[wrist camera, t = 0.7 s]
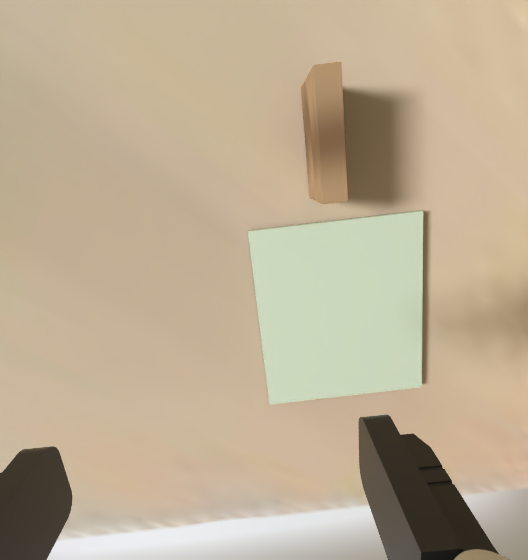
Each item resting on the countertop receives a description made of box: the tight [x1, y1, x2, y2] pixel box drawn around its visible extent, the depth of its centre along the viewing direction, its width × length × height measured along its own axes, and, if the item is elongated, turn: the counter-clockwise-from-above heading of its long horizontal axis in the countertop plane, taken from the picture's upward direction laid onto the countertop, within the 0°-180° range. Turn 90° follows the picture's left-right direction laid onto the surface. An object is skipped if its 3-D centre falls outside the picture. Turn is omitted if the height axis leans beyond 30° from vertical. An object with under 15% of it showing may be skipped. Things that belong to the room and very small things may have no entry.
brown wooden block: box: [301, 62, 348, 204], centre depth 26 cm, size 8×2×6 cm, turn 6°
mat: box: [248, 210, 423, 404], centre depth 32 cm, size 16×14×1 cm
